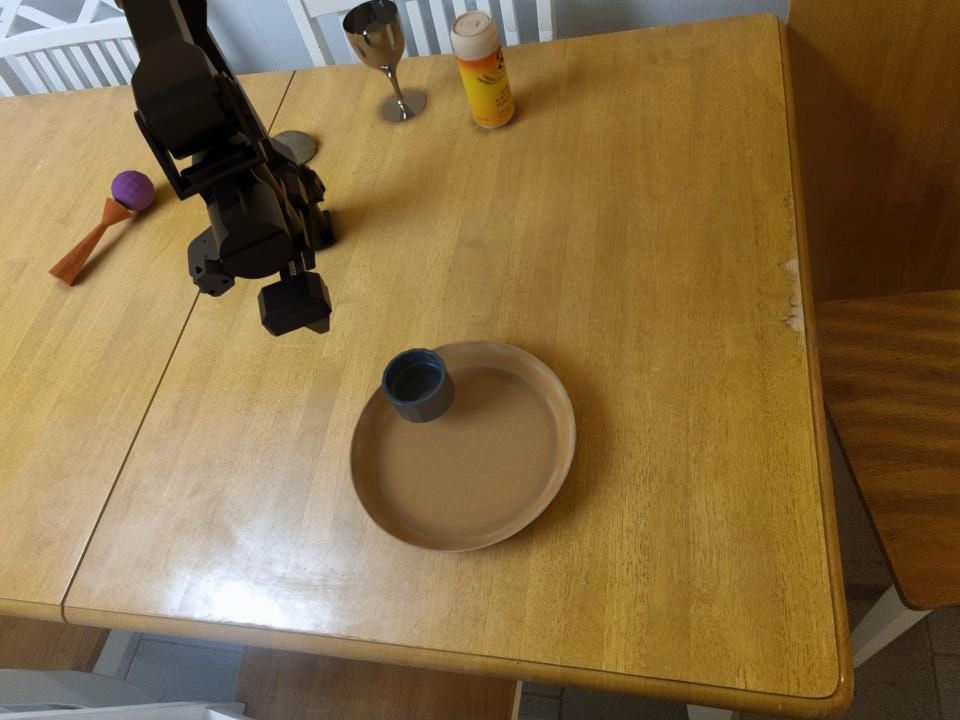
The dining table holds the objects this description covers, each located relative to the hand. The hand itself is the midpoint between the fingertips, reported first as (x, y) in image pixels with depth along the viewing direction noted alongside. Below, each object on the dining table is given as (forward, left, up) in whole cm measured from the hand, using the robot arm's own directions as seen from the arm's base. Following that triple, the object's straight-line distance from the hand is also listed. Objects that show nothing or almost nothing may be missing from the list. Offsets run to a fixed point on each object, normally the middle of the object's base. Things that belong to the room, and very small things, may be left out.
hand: (317, 299), depth 79 cm
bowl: (+11, +7, -8) cm, 16 cm away
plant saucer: (+17, +10, -12) cm, 23 cm away
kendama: (-38, -33, -12) cm, 51 cm away
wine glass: (-43, +16, -12) cm, 47 cm away
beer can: (-33, +27, -12) cm, 44 cm away
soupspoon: (-46, -8, -12) cm, 48 cm away
